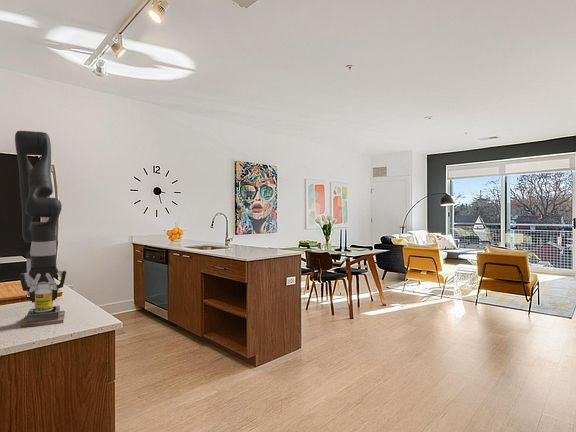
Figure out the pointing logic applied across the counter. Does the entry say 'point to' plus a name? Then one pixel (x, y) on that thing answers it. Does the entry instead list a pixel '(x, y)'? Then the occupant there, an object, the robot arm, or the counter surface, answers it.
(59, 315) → the socket base
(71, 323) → the counter surface
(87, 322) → the counter surface
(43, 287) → the supplement bottle
